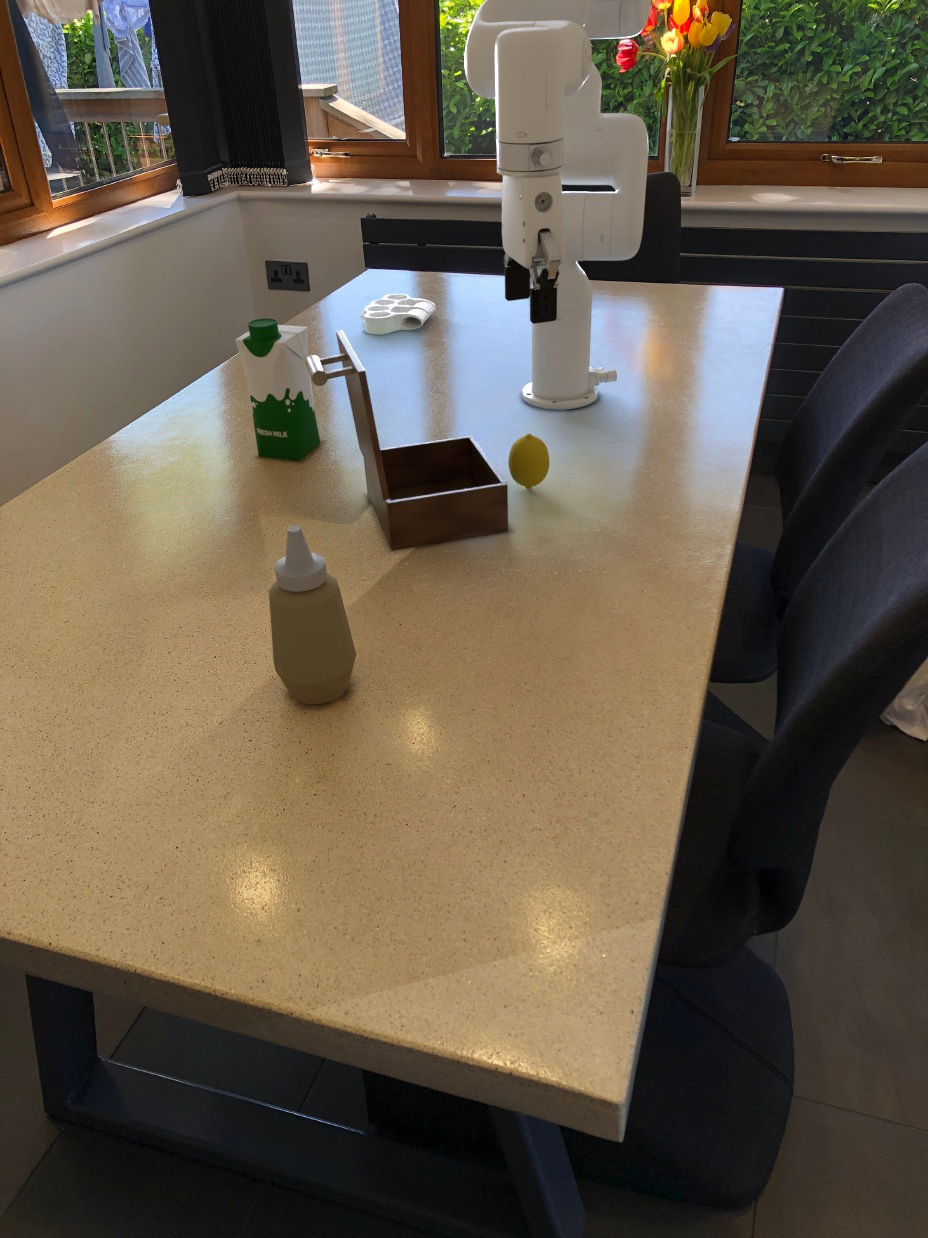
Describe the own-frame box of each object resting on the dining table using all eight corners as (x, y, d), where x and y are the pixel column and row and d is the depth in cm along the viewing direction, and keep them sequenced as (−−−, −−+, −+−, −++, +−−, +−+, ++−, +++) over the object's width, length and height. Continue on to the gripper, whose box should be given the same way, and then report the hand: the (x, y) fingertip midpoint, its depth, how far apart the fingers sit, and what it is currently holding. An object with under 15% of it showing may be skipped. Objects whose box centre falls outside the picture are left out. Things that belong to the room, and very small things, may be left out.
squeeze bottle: (282, 666, 95) (253, 511, 85) (360, 660, 96) (340, 504, 86) (275, 716, 89) (243, 554, 79) (359, 709, 89) (338, 547, 79)
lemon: (546, 498, 124) (547, 443, 120) (505, 496, 125) (505, 441, 121) (551, 481, 129) (552, 426, 124) (512, 478, 130) (511, 425, 125)
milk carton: (250, 458, 139) (226, 325, 128) (279, 435, 146) (258, 306, 135) (302, 464, 136) (282, 329, 125) (329, 440, 143) (312, 310, 132)
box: (473, 478, 130) (471, 435, 127) (508, 531, 117) (507, 484, 114) (367, 495, 127) (362, 450, 124) (391, 551, 114) (386, 503, 111)
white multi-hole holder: (418, 335, 186) (349, 333, 189) (439, 310, 200) (375, 308, 203) (417, 319, 184) (347, 317, 187) (438, 294, 198) (373, 292, 201)
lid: (341, 328, 114) (297, 338, 113) (365, 370, 101) (315, 381, 100) (365, 447, 123) (324, 456, 123) (389, 499, 110) (344, 510, 110)
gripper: (589, 166, 98) (584, 327, 108) (536, 143, 112) (535, 287, 121) (522, 172, 96) (523, 335, 106) (476, 148, 110) (481, 294, 120)
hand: (530, 309), depth 114 cm, fingers open, 9 cm apart
